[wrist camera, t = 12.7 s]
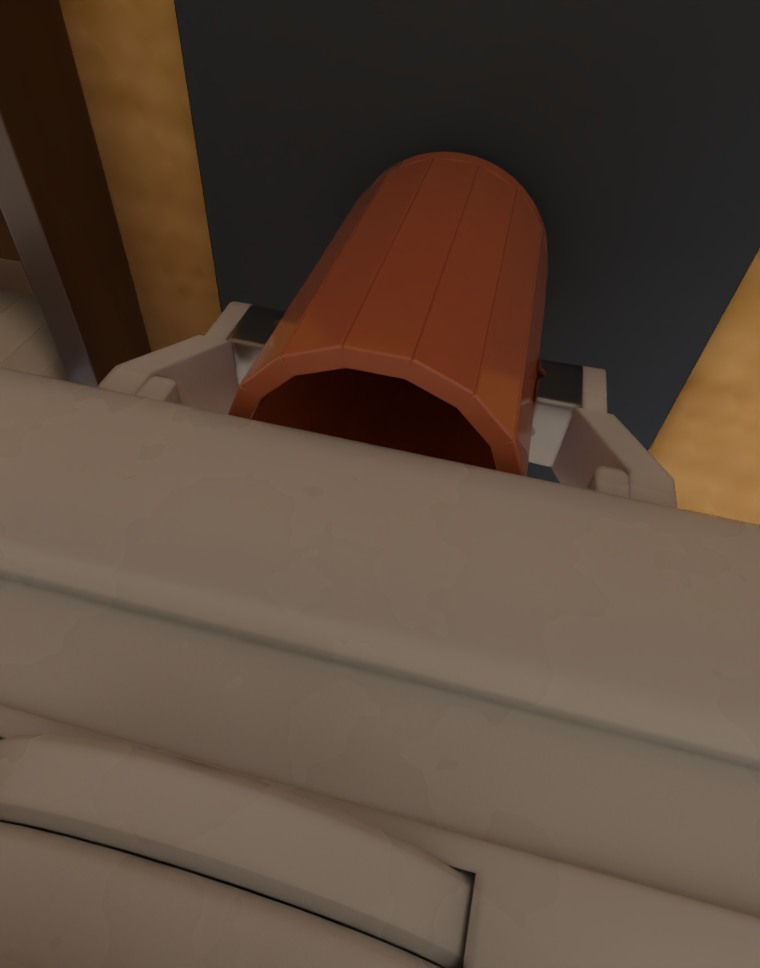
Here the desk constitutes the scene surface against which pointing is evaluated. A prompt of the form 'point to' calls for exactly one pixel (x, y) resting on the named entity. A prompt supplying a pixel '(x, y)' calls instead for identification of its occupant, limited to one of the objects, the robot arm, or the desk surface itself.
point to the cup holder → (60, 200)
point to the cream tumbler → (27, 337)
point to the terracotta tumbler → (417, 320)
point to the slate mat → (499, 153)
